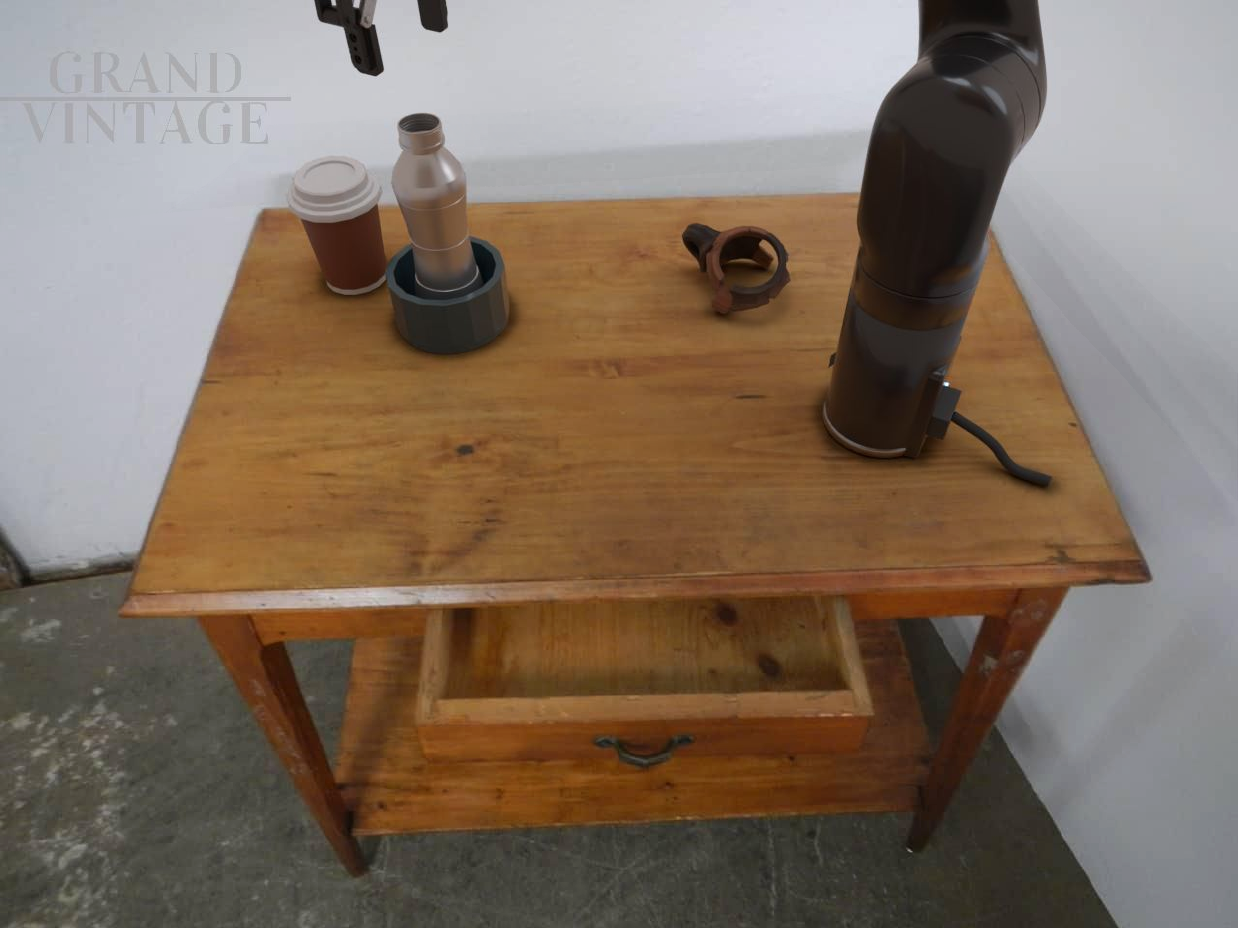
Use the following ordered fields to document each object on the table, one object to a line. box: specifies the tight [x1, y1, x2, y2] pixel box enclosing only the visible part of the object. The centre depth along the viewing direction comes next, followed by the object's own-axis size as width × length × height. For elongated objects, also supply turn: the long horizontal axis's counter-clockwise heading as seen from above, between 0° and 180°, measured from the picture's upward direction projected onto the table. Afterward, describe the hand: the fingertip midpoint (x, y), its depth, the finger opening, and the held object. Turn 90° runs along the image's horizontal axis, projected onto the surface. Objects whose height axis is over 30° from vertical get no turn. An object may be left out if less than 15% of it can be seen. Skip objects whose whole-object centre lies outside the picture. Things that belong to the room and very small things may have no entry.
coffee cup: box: [285, 155, 388, 296], centre depth 94 cm, size 9×9×12 cm
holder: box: [385, 234, 511, 355], centre depth 92 cm, size 11×11×6 cm
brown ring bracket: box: [681, 222, 792, 315], centre depth 95 cm, size 12×10×8 cm
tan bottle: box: [390, 112, 484, 300], centre depth 86 cm, size 6×7×20 cm
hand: (404, 50), depth 74 cm, fingers open, 8 cm apart
